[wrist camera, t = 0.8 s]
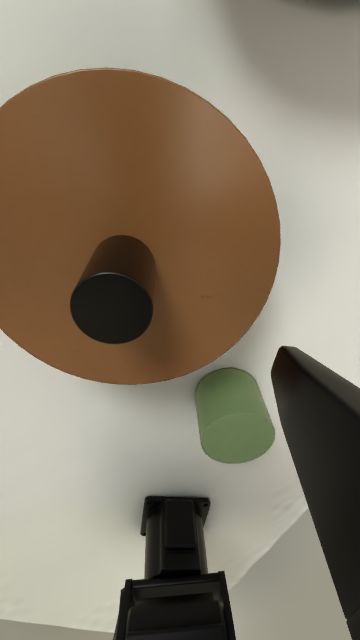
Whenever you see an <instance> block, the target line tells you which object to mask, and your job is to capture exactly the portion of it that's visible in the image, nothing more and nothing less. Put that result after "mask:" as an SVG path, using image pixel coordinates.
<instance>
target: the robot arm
mask: <svg viewBox="0 0 360 640" xmlns="http://www.w3.org/2000/svg"><path fill="white" fill-rule="evenodd" d="M271 379H272V383H273V388H274V393H275V398H276V403H277V407H278V412H279V417H280V421H281V425H282V428H283V431H284V435H285V438H286V441H287V444H288V447H289V450H290V453H291V456H292V459H293V462H294V465H295V468H296V471H297V474H298V477H299V480H300V483H301V486H302V489H303V492H304V495H305V498H306V501H307V504H308V507H309V510H310V513H311V516H312V519H313V522H314V525H315V528H316V531H317V534H318V537H319V540H320V543H321V546H322V549H323V552H324V555H325V558H326V561H327V564H328V567H329V570H330V573H331V576H332V579H333V582H334V585H335V588H336V591H337V594H338V597H339V600H340V603H341V606H342V609H343V612H344V615H345V618H346V619H347V625H348V628H349V631H350V634H351V637H352V640H360V388H358V387H357V386H355V385H354V384H352V383H351V382H349V381H348V380H346V379H344V378H343V377H341V376H340V375H338V374H337V373H335V372H334V371H332V370H330V369H329V368H327V367H326V366H324V365H323V364H321V363H320V362H318V361H316V360H315V359H313V358H312V357H310V356H309V355H307V354H306V353H304V352H302V351H301V350H299V349H298V348H296V347H291V346H281V347H280V348H279V350H278V352H277V355H276V358H275V360H274V363H273V366H272V369H271ZM209 507H210V500H209V499H208V498H186V497H146V498H145V502H144V509H143V517H142V524H141V535H142V536H146V547H145V576H144V579H142V580H132V579H127V580H126V582H125V588H123V589H122V590H121V596H120V607H119V615H118V620H117V624H116V629H115V633H114V638H113V640H236V637H235V631H234V624H233V618H232V612H231V607H230V601H229V595H228V590H227V584H226V578H225V572H224V571H218V573H209V574H208V568H207V559H206V549H205V540H204V531H203V527H204V523H205V520H206V517H207V514H208V511H209Z"/></svg>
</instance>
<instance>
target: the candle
mask: <svg viewBox="0 0 360 640" xmlns="http://www.w3.org/2000/svg"><path fill="white" fill-rule="evenodd" d="M195 402H196V410H197V417H198V425H199V433H200V440H201V446H202V449H203V451H204V452H205V453H206V454H207V455H208V456H209V457H210V458H212V459H214V460H216V461H219V462H223V463H243V462H247V461H250V460H253V459H255V458H257V457H259V456H261V455H262V454H264V453H265V452H266V451H267V450H268V449H269V448H270V447H271V445H272V444H273V442H274V439H275V429H274V426H273V424H272V421H271V419H270V416H269V413H268V411H267V408H266V405H265V403H264V400H263V398H262V395H261V392H260V390H259V387H258V385H257V382H256V380H255V379H254V378H253V377H252V376H251V375H250V374H249V373H247V372H245V371H243V370H239V369H234V368H227V369H220V370H217V371H214V372H212V373H210V374H208V375H207V376H205V377H204V378H203V379H202V380H201V381H200V382H199V384H198V386H197V388H196V390H195Z"/></svg>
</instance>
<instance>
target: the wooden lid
mask: <svg viewBox="0 0 360 640" xmlns="http://www.w3.org/2000/svg"><path fill="white" fill-rule="evenodd" d="M279 253H280V221H279V215H278V209H277V203H276V199H275V196H274V193H273V190H272V186H271V183H270V180H269V178H268V176H267V174H266V172H265V169H264V167H263V165H262V163H261V161H260V159H259V157H258V156H257V154H256V153H255V151H254V150H253V148H252V147H251V145H250V144H249V142H248V141H247V139H246V138H245V137H244V135H243V134H242V133H241V132H240V131H239V130H238V129H237V128H236V126H235V125H234V124H233V123H232V122H231V121H230V120H229V119H228V118H227V117H226V116H225V115H224V114H222V113H221V112H220V111H219V110H218V109H217V108H215V107H214V106H213V105H212V104H211V103H209V102H208V101H206V100H205V99H203V98H202V97H200V96H198V95H197V94H195V93H194V92H192V91H190V90H189V89H187V88H185V87H183V86H181V85H178V84H176V83H174V82H171V81H169V80H167V79H164V78H162V77H159V76H155V75H151V74H147V73H143V72H139V71H135V70H127V69H116V68H94V69H80V70H75V71H71V72H67V73H63V74H59V75H55V76H52V77H50V78H47V79H45V80H43V81H40V82H38V83H36V84H33V85H31V86H29V87H27V88H26V89H24V90H23V91H21V92H20V93H18V94H17V95H15V96H14V97H12V98H11V99H9V100H8V101H7V102H6V103H5V104H3V105H2V106H1V107H0V329H1V330H2V331H3V332H4V333H5V334H6V335H7V336H8V337H10V338H11V339H12V340H13V341H14V342H15V343H16V344H18V345H19V346H20V347H21V348H23V349H24V350H26V351H27V352H28V353H30V354H31V355H33V356H34V357H36V358H37V359H39V360H41V361H43V362H45V363H46V364H48V365H50V366H52V367H54V368H56V369H59V370H61V371H63V372H66V373H68V374H71V375H74V376H77V377H80V378H84V379H88V380H92V381H97V382H102V383H111V384H128V385H136V384H148V383H155V382H161V381H166V380H170V379H173V378H177V377H180V376H183V375H186V374H188V373H190V372H193V371H195V370H198V369H200V368H201V367H203V366H205V365H207V364H209V363H211V362H212V361H214V360H215V359H217V358H218V357H220V356H221V355H222V354H224V353H225V352H226V351H228V350H229V349H230V348H231V347H232V346H233V345H234V344H235V343H237V342H238V341H239V340H240V339H241V337H242V336H243V335H244V334H245V333H246V332H247V331H248V330H249V328H250V327H251V326H252V324H253V323H254V321H255V320H256V318H257V317H258V316H259V314H260V312H261V310H262V308H263V306H264V305H265V303H266V301H267V299H268V296H269V294H270V291H271V288H272V286H273V283H274V280H275V276H276V271H277V267H278V263H279Z"/></svg>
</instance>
